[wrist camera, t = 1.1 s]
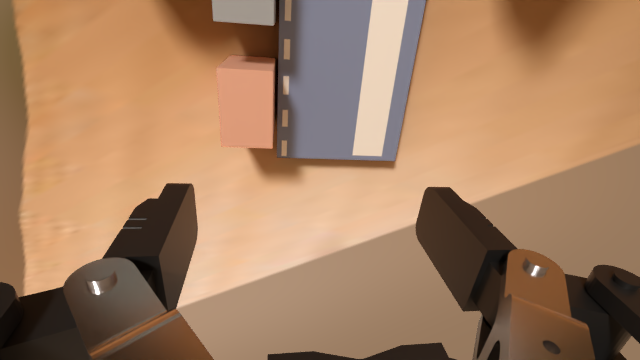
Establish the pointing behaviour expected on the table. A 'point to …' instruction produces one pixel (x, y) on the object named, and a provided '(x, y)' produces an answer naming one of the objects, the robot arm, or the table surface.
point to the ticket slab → (344, 76)
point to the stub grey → (245, 11)
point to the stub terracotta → (246, 101)
